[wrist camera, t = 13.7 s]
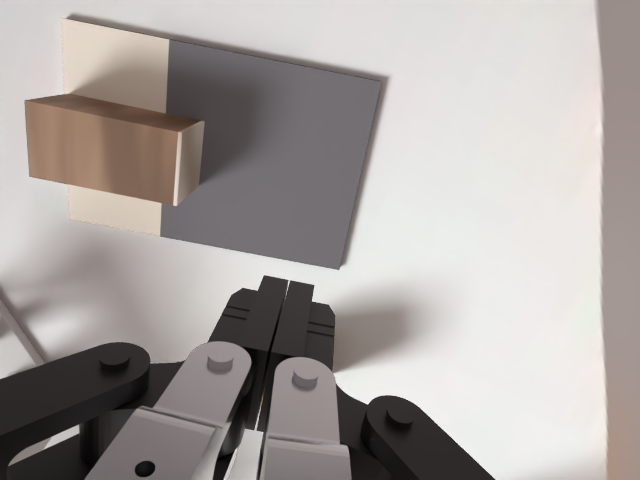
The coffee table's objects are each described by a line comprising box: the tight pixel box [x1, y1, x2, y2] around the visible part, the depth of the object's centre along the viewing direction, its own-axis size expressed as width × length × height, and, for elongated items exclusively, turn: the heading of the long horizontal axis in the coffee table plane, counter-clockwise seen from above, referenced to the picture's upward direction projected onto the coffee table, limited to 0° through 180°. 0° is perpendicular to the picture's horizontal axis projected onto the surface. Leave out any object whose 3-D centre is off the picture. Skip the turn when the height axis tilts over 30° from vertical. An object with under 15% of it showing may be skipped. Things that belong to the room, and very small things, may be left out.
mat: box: [61, 18, 381, 270], centre depth 27 cm, size 18×12×1 cm, turn 80°
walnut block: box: [25, 94, 205, 206], centre depth 25 cm, size 4×4×8 cm
